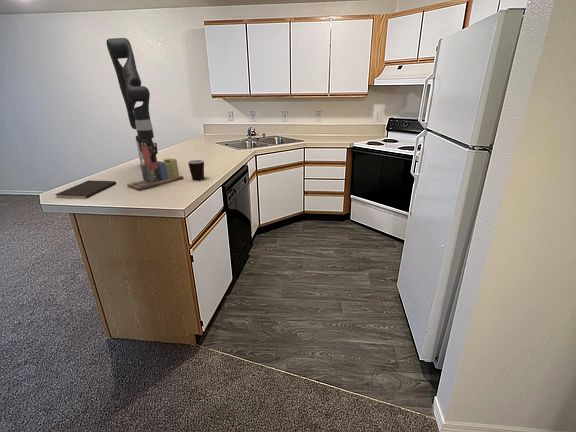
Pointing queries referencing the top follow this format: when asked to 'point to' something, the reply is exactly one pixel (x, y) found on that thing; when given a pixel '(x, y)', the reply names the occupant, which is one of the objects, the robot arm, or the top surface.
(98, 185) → the hardcover book
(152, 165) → the book
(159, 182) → the shelf
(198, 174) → the coffee mug
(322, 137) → the top surface
